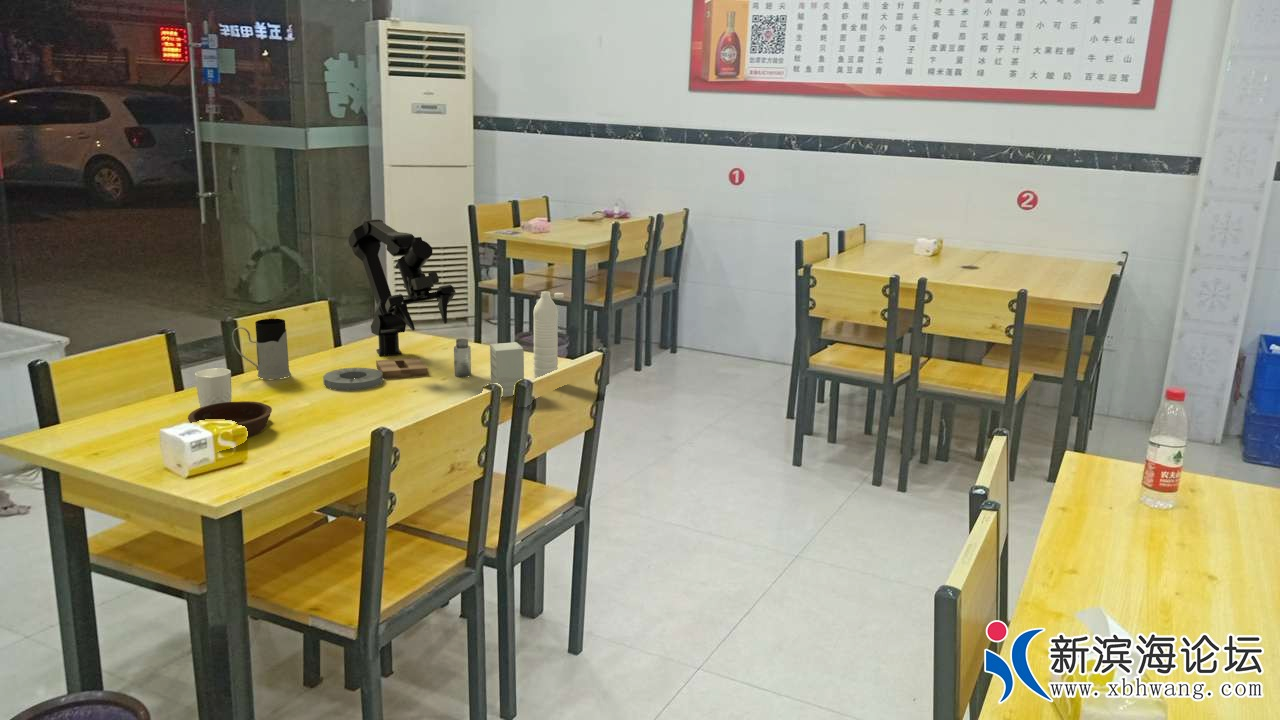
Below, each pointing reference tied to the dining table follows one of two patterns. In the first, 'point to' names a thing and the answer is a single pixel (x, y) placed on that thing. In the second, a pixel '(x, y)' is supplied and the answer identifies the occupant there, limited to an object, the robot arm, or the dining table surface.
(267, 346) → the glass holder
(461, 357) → the grey small bottle
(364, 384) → the round bore
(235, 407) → the dish
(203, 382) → the white cup
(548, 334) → the water bottle
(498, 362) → the supplement box
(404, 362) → the block
